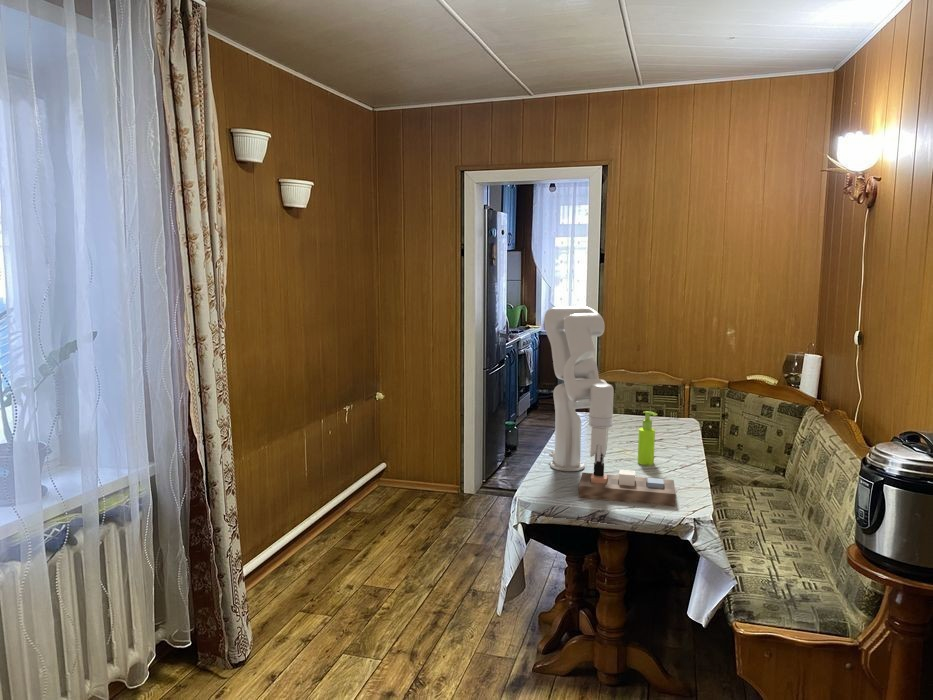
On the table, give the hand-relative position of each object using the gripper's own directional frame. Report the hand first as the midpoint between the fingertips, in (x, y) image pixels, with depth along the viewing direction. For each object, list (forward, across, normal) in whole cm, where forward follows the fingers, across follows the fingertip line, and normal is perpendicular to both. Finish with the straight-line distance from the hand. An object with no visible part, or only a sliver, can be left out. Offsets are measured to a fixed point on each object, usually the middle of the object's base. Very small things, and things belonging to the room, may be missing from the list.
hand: (598, 475), depth 221 cm
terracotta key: (+4, 0, 0) cm, 4 cm away
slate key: (+4, 0, +18) cm, 19 cm away
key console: (+6, 0, +9) cm, 11 cm away
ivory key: (+2, 0, +9) cm, 9 cm away
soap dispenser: (+6, -37, +16) cm, 41 cm away
